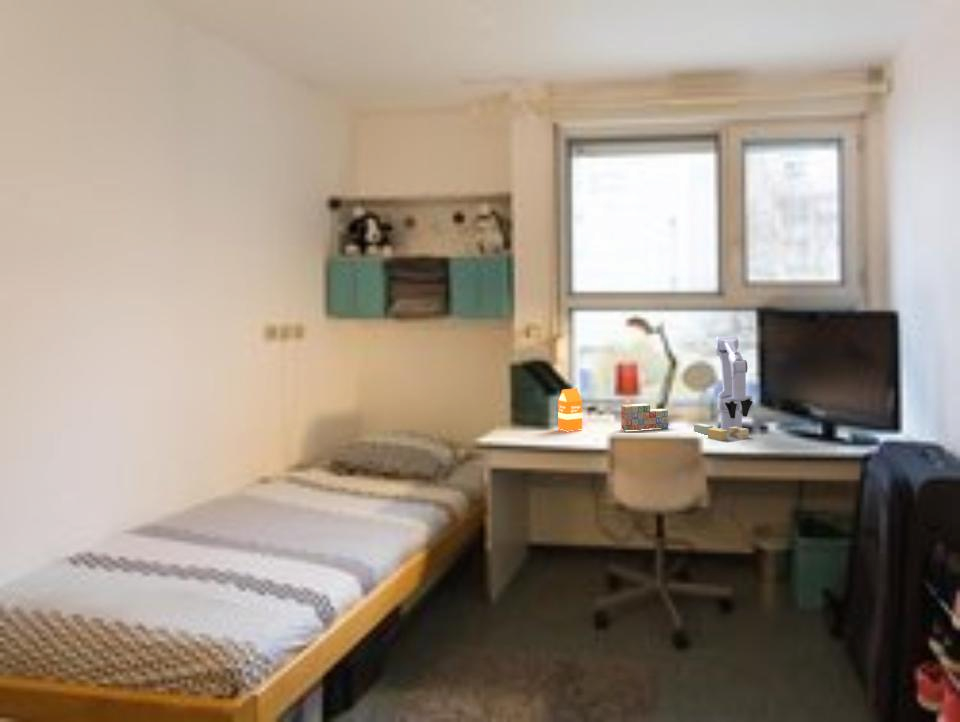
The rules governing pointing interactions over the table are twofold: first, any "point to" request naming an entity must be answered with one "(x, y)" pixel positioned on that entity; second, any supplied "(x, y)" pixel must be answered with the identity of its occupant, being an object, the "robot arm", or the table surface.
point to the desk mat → (731, 439)
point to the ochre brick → (717, 434)
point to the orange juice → (570, 410)
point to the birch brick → (738, 432)
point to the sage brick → (702, 428)
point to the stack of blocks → (642, 417)
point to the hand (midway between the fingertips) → (738, 417)
